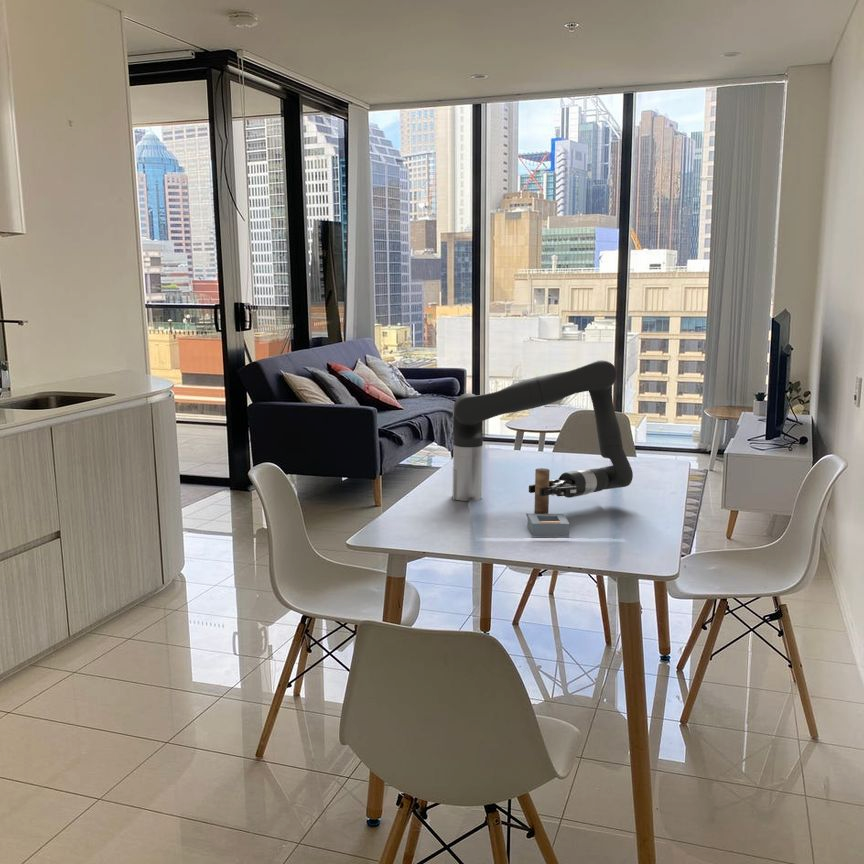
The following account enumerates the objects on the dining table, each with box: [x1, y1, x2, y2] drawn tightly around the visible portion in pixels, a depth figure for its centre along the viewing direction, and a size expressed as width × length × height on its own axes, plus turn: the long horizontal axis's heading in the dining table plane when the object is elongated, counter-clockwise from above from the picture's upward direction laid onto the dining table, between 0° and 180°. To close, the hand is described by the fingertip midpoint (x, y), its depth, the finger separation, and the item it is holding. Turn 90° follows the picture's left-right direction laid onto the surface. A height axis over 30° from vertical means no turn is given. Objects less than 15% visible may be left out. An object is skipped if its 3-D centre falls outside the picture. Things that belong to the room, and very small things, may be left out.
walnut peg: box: [533, 467, 550, 514], centre depth 247 cm, size 4×4×14 cm
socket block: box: [527, 513, 571, 539], centre depth 236 cm, size 10×10×4 cm
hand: (535, 490), depth 246 cm, fingers closed on walnut peg, 4 cm apart
